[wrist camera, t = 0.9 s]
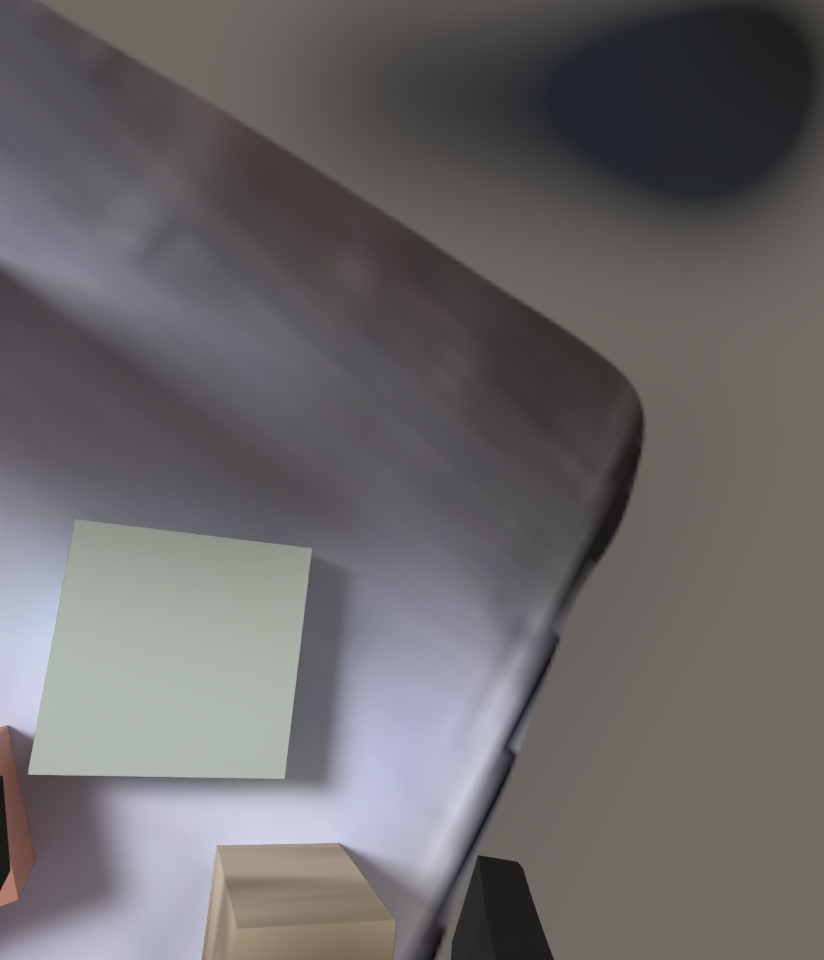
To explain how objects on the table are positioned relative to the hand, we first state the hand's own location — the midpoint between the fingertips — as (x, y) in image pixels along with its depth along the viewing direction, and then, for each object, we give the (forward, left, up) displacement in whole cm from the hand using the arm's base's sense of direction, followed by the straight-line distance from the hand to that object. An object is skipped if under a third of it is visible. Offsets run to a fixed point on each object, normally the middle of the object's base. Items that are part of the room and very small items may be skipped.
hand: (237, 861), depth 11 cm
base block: (+2, +1, -13) cm, 14 cm away
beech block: (-6, -3, -13) cm, 15 cm away
